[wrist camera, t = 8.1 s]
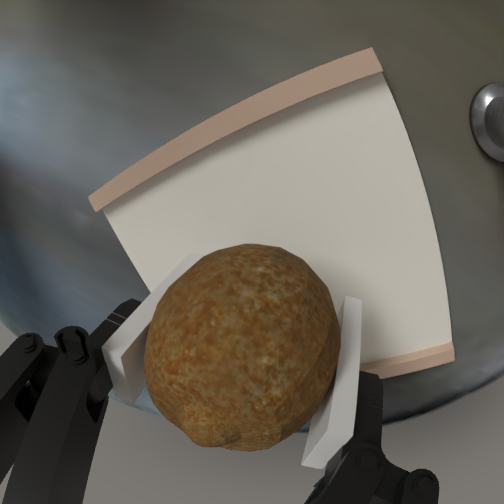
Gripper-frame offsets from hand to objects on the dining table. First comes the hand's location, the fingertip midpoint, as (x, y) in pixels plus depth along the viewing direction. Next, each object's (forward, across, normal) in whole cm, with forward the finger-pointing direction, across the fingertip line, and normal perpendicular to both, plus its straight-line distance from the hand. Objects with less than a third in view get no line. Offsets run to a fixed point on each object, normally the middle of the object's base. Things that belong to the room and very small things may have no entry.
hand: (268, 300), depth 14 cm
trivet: (+3, 0, 0) cm, 3 cm away
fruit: (0, 0, +1) cm, 1 cm away
